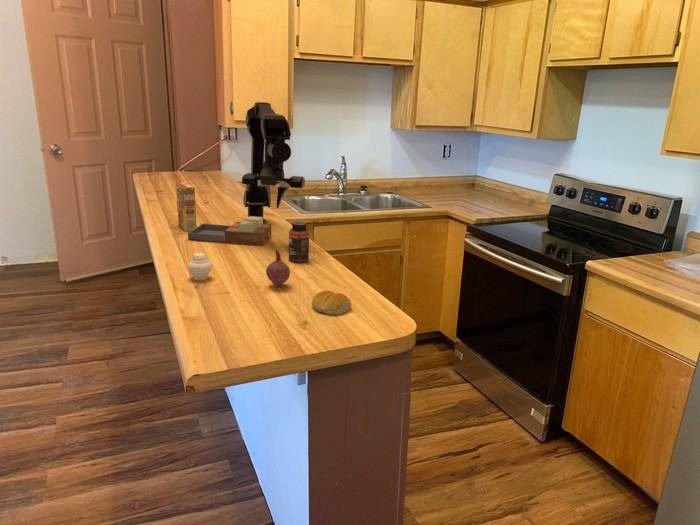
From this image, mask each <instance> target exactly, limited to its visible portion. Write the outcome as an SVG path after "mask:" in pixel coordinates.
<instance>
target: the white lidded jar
mask: <svg viewBox="0 0 700 525" xmlns="http://www.w3.org/2000/svg"><path fill="white" fill-rule="evenodd" d="M212 263H213V262H212V261H211V260H209V258H208V256H207V254H205V253H203V252H196V253H194V254H193V255H192V258H191V260H190V261H189V262H188V264H187V268H188V271H189V273H190V275H191V276H192V278H193V279H194V280H196V281H204V280H207V279H208V277H209V275H210V273H211V271H212V269H213V264H212Z"/></svg>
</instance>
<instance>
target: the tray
mask: <svg viewBox="0 0 700 525" xmlns="http://www.w3.org/2000/svg"><path fill="white" fill-rule="evenodd" d="M231 226H232V225H225V224H213V223H200V224H199V225H198V226H197V227H196V228H195V229H193V230H192V231H187V240H188V241H189V240H191V242H193V241H194V242H203V243H216V244H218V243H219V244H225V230H227V229H228V228H229V227H231Z"/></svg>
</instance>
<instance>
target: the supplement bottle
mask: <svg viewBox="0 0 700 525" xmlns="http://www.w3.org/2000/svg"><path fill="white" fill-rule="evenodd" d="M309 256H310V232H309V230H308V229H307V223H306V222H305V221H293V222H292V226H291V229H290V230H289V231H288V260H289V261H290V262H292V263H298V264H299V263H306V262H307V261H308V260H309V259H310V258H309Z"/></svg>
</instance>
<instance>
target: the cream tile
mask: <svg viewBox="0 0 700 525" xmlns="http://www.w3.org/2000/svg"><path fill="white" fill-rule="evenodd" d="M263 219H264V216H263V217H254V216H249V217H248V216H247V218H245V221H253V222H257V227H260V226H262V225H263V224H264V223H263Z"/></svg>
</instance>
